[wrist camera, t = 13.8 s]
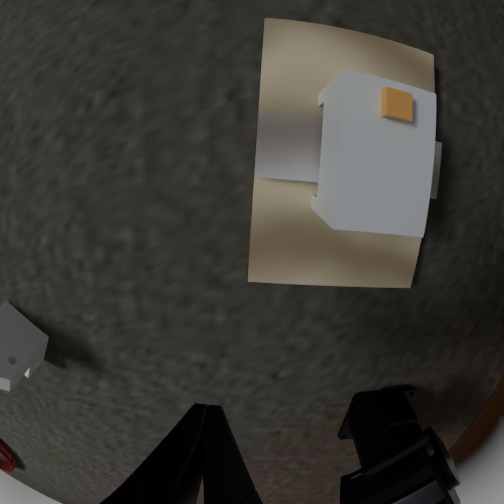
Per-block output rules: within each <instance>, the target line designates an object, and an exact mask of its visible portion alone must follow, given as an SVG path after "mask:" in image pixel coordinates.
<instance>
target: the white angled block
mask: <svg viewBox="0 0 504 504" xmlns="http://www.w3.org/2000/svg"><path fill="white" fill-rule="evenodd" d="M48 340H49V337H48V336H47V335H46V334H45V333H43V332H42V331H41V330H40V329H38V328H37V327H36V326H35V325H34V324H32V323H31V322H30V321H29V320H28V319H27V318H25V317H24V316H23V315H22V314H21V313H20V312H19V311H18V310H16V309H15V308H14V307H13V306H12V305H11V304H10V303H9V302H8V301H6V302H4V303H3V304H2V305H0V389H3V390H6V391H10V390H11V389H12V388H13V387H14V386H15V384H16V383H17V382H18V381H19V380H20V378H21V377H22V376H23V375H25V376H26V377H28V378H29V376H30V375H31V374H32V373H33V372H34V370H35V369H36V368H37V367H38V366H39V364H40V363H41V362H42V361H43V360H44V356H45V352H46V347H47V343H48Z"/></svg>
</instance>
